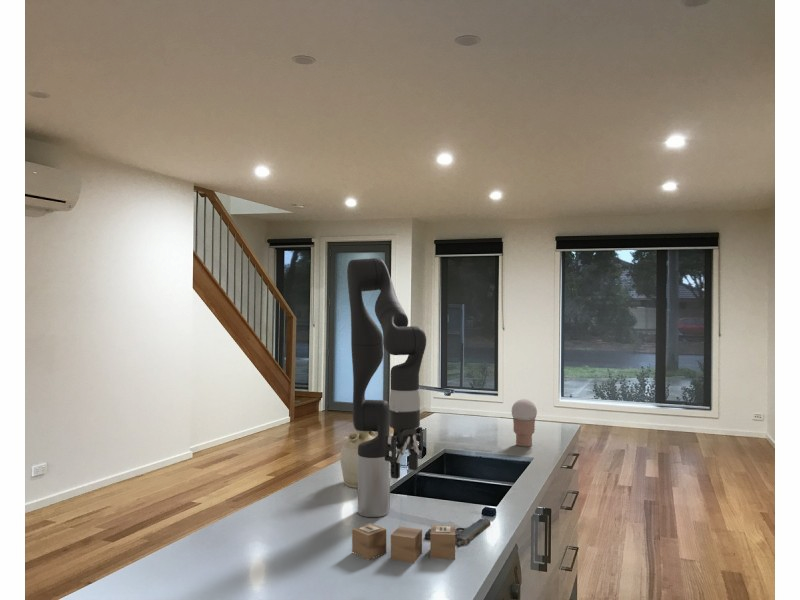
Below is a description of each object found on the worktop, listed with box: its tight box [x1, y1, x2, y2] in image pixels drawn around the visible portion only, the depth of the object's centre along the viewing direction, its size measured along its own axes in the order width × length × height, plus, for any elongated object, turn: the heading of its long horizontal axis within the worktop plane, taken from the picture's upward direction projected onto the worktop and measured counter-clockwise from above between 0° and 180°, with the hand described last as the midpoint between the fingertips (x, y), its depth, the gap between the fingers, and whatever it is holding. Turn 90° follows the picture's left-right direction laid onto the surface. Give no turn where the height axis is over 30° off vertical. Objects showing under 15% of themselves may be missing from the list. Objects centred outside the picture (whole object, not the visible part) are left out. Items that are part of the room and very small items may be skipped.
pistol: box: [424, 518, 491, 547], centre depth 167 cm, size 2×19×12 cm
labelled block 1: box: [351, 522, 387, 560], centre depth 152 cm, size 6×6×6 cm
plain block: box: [390, 525, 423, 564], centre depth 150 cm, size 6×6×6 cm
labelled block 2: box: [429, 524, 456, 560], centre depth 152 cm, size 6×6×6 cm
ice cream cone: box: [511, 398, 538, 447], centre depth 268 cm, size 11×11×20 cm
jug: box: [339, 423, 376, 489], centre depth 210 cm, size 15×16×25 cm
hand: (404, 473), depth 150 cm, fingers open, 8 cm apart
